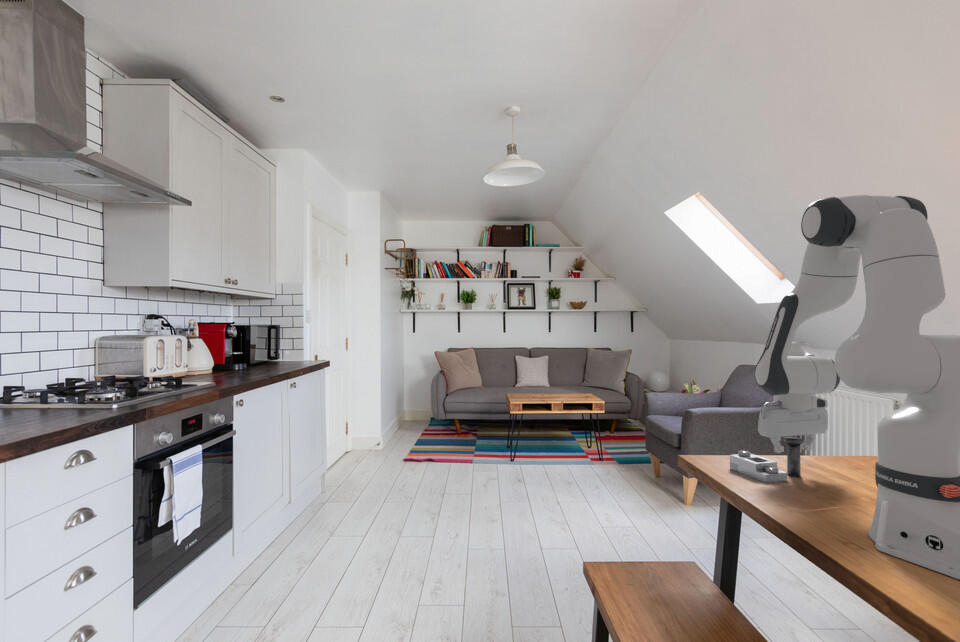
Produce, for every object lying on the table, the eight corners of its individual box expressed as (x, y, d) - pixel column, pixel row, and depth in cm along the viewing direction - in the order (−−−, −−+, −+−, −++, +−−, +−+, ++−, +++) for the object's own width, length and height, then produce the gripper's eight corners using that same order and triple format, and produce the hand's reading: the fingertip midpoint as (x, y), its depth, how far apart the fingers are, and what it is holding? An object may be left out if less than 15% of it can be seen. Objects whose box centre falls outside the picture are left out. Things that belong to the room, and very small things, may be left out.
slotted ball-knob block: (787, 480, 121) (787, 461, 121) (765, 482, 119) (765, 463, 119) (750, 467, 133) (750, 449, 133) (730, 469, 131) (729, 451, 131)
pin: (807, 477, 124) (807, 439, 124) (794, 478, 123) (794, 440, 123) (793, 472, 128) (792, 436, 128) (780, 473, 127) (779, 437, 127)
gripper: (771, 404, 120) (771, 457, 120) (832, 400, 125) (833, 451, 125) (751, 400, 126) (752, 450, 126) (811, 397, 131) (811, 445, 131)
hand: (792, 451), depth 126 cm, fingers open, 8 cm apart
